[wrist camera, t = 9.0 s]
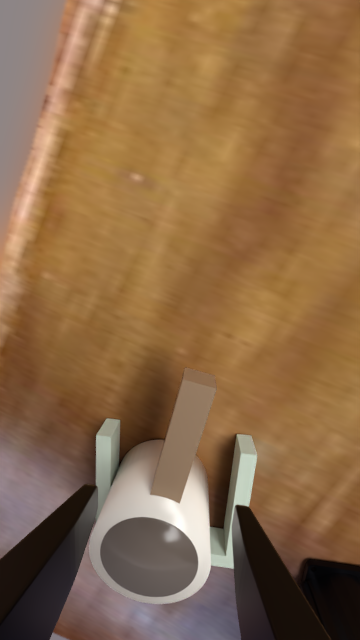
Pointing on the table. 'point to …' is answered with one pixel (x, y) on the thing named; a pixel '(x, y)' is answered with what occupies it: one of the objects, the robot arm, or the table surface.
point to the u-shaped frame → (237, 492)
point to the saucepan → (160, 508)
